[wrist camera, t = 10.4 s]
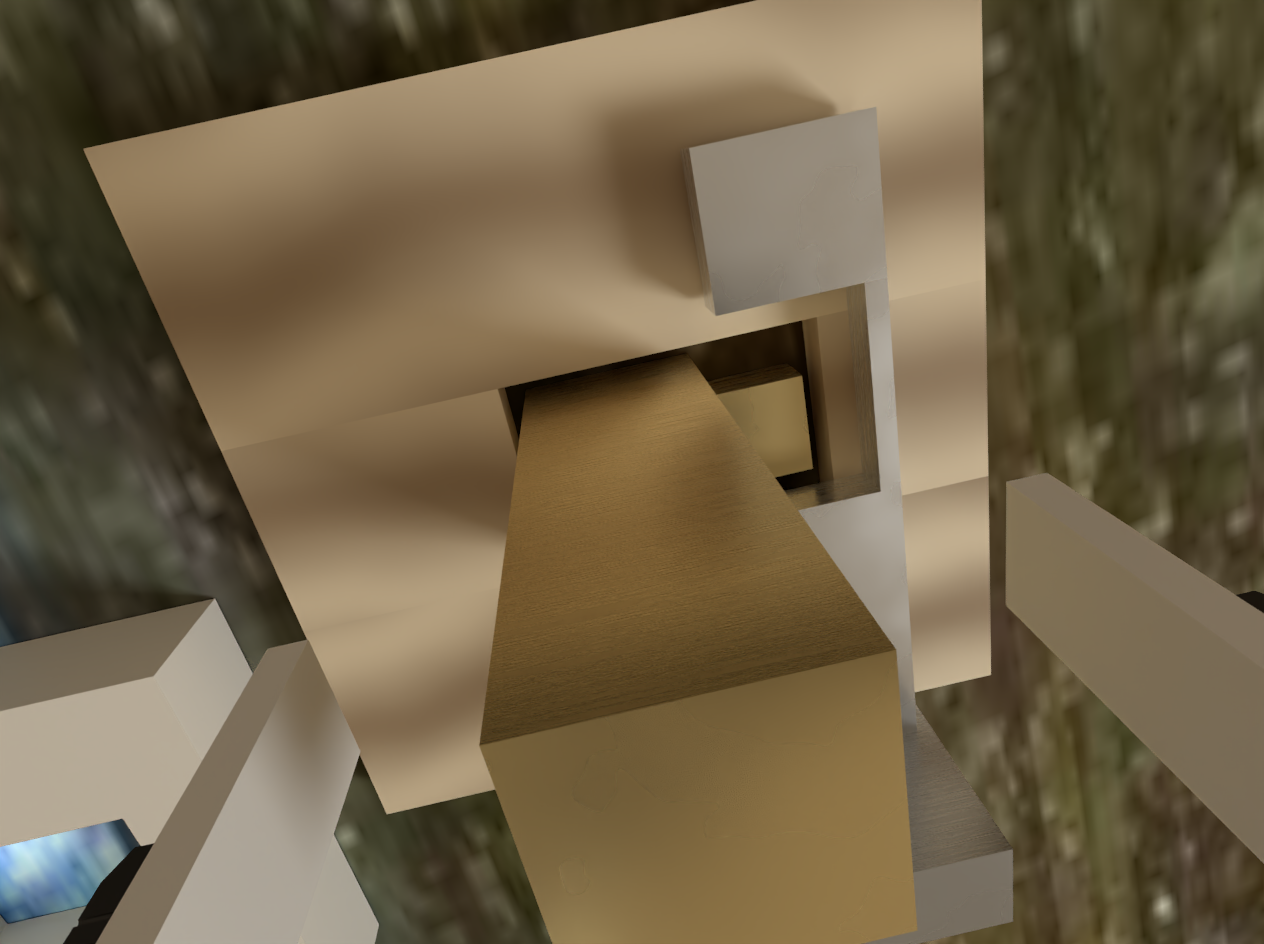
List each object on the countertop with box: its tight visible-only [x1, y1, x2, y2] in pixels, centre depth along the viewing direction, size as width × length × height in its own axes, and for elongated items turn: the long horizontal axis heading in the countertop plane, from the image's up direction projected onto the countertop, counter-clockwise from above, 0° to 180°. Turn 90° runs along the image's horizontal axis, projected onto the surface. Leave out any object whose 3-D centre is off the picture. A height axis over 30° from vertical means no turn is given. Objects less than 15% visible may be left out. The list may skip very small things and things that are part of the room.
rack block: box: [0, 598, 379, 944], centre depth 25 cm, size 16×16×4 cm
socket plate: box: [83, 0, 991, 814], centre depth 23 cm, size 22×22×2 cm
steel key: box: [680, 107, 1013, 944], centre depth 21 cm, size 22×6×8 cm, turn 11°
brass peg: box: [479, 353, 918, 944], centre depth 17 cm, size 5×8×15 cm, turn 101°
